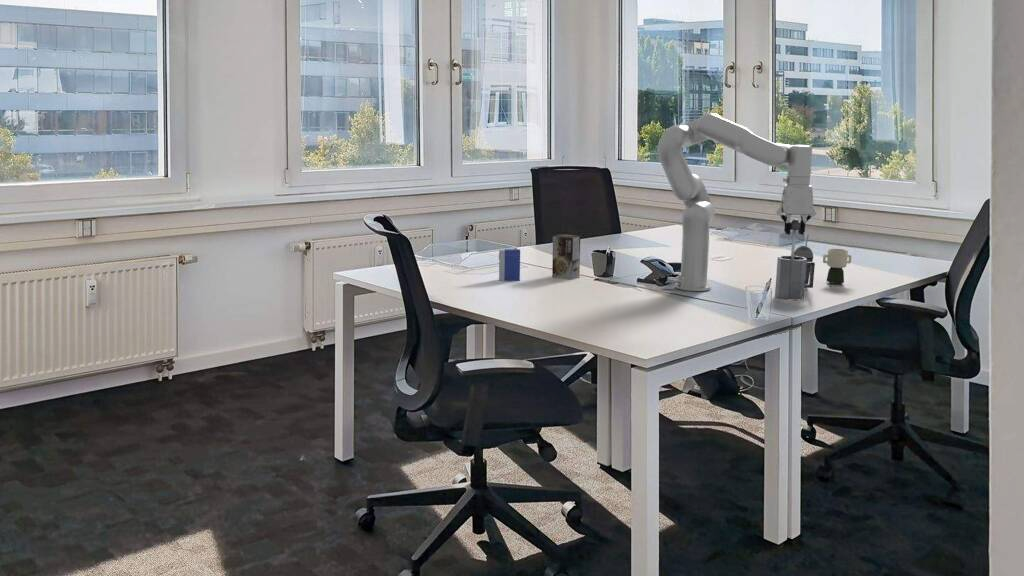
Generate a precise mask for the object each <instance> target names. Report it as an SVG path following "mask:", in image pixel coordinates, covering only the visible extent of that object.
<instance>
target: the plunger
mask: <svg viewBox="0 0 1024 576" xmlns="http://www.w3.org/2000/svg"><path fill="white" fill-rule="evenodd" d="M790 223H791V230H790V231H792V239H791V252H790V254H791V255H790V256H791V260H794V252H795V250H796V248H795V247H796V235H797V234H796V233H797V231H799V230H801V221H799V220H798V219H796V218H795V219H792V220H791V221H790Z"/></svg>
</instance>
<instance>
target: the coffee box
mask: <svg viewBox="0 0 1024 576" xmlns="http://www.w3.org/2000/svg"><path fill="white" fill-rule="evenodd" d="M580 262H581V235H575V234H563V233H562V234H556V235H553V236H552V265H551V266H552V267H551V268H552V269H551V270H552V271H551V272H552V273H551V276H552V278H558V279H568V280H574V279H577V278H580V273H581V272H580V271H581V270H580V268H581V263H580Z"/></svg>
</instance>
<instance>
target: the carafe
mask: <svg viewBox="0 0 1024 576" xmlns="http://www.w3.org/2000/svg"><path fill="white" fill-rule="evenodd" d="M776 261H777V262H776V274H775V287H774V289H775V291H774V297H776V298H777V297H778V298H777V299H781V298H783V299H782V300H787V299H800V300H802V298H803V299H805V291H806V289H809V288H810V289H812V288H813V287H814V278H815V266H816V264H815V263H816V262H815V261H812V262H807V259H806V258H804V257H799V256H794V260H791V255H780V256H777V259H776ZM807 265H811V267H810V275H809V281H808V284H805V281H806V268H807ZM805 288H806V289H805Z"/></svg>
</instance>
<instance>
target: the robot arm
mask: <svg viewBox="0 0 1024 576" xmlns="http://www.w3.org/2000/svg"><path fill="white" fill-rule="evenodd" d="M659 138H660V139H659V141H658V145H657V155H658V158H659V161H660V164H661V166H662V169H663V171H664V174H665V176H666V178H667V180H668V184H669V185H670V187H671V190H672V193H673V195H674V197H676V199H678V200H680V201H682V202H683V204H684V206H685V208H684V211H683V213H682V217H681V218H682V221H681V222H682V238H681V239H682V240H681V241H682V242H681V266H680V274H678V276H676V277H673V276H667V283H672V284H675V288H676V289H678V290H681V291H686V292H687V291H688V292H707V291H711V289H712V285H710V284H709V283H708V267H709V252H710V250H709V248H710V223H712V221H713V220H714V218H715V214H716V210H715V206H714V205H713V202H712V200H711V197H710V194H709V193H708V191H707V189H706V186H705V183H704V182H703V180H702V179H701V177H699V175H697V174H695V173H692V171H691V169H690V166H689V164H688V162H687V160H686V158H685V156H684V154H683V152H682V151H683V149H685V148H688V147H691V146H694V145H696V144H700V143H702V142H705V141H707V140H711V141H713V142H714V143H718V144H720V145H722V146H723V147H727V148H729V149H731V150H734V152H738V153H740V154H743V156H747V157H748V158H751V159H753V160H756V161H757V162H760V163H763V164H765V165H767V166H769V167H774V168H776V167H780V166H785V165H787V175H786V176H785V177H783V178H782V182H783V183H784V182H785V185H784V187H783V190H782V195H781V199H780V200H781V201H780V205H779V208H778V209H777V210H776V211H775V215H776V216H778V217H779V218H781V219H782V221H783V222H784V229H783V231H784V233H785V235H791V231H792V230H791V223H790V222H791V219H792V215H798V216H800V222H801V230H798V234H799V235H801V236H803V235H804V233H805V232H806V224H807V222H809V220H811V219H812V218H813V217H815V216H816V215H817V212H816V210H815V209H814V195H813V194H814V191H813V186H812V185H810V184H811V183H810V182H811V173H812V172H811V171H812V170H811V167H812V159H813V147H812V146H811V145H808V144H806V145H805V144H794V145H793V144H792V145H790V144H785V143H774V142H772V141H769V140H767V139H765V138H762V137H761V136H758V135H757V134H754V133H753V132H752V131H751V130H750V129H748V128H747V127H745V126H743V125H740V124H738V123H735V122H733V121H731V120H729V119H726V118H723V117H722V116H721V115H719V114H718V113H714V112H712V113H711V112H710V113H704V114H703V115H701V116H700V117H699V118H696V119H694V120H691V121H688V122H684V123H682V124H674V125H672V126H670V127H668V128H667V129H665V131H664V132H663V133H662V135H661V137H659Z"/></svg>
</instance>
